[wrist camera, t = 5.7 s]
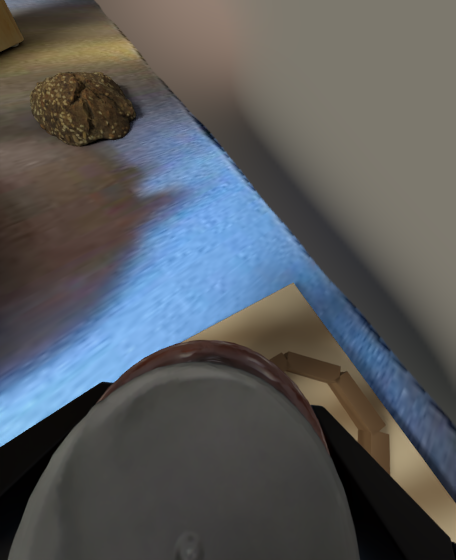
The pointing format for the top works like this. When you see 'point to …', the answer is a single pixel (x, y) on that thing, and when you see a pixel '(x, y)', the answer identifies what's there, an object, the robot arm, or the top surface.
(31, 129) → the top surface
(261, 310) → the holder board
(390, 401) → the top surface
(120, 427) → the supplement bottle
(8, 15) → the knife block
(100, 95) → the bread roll
